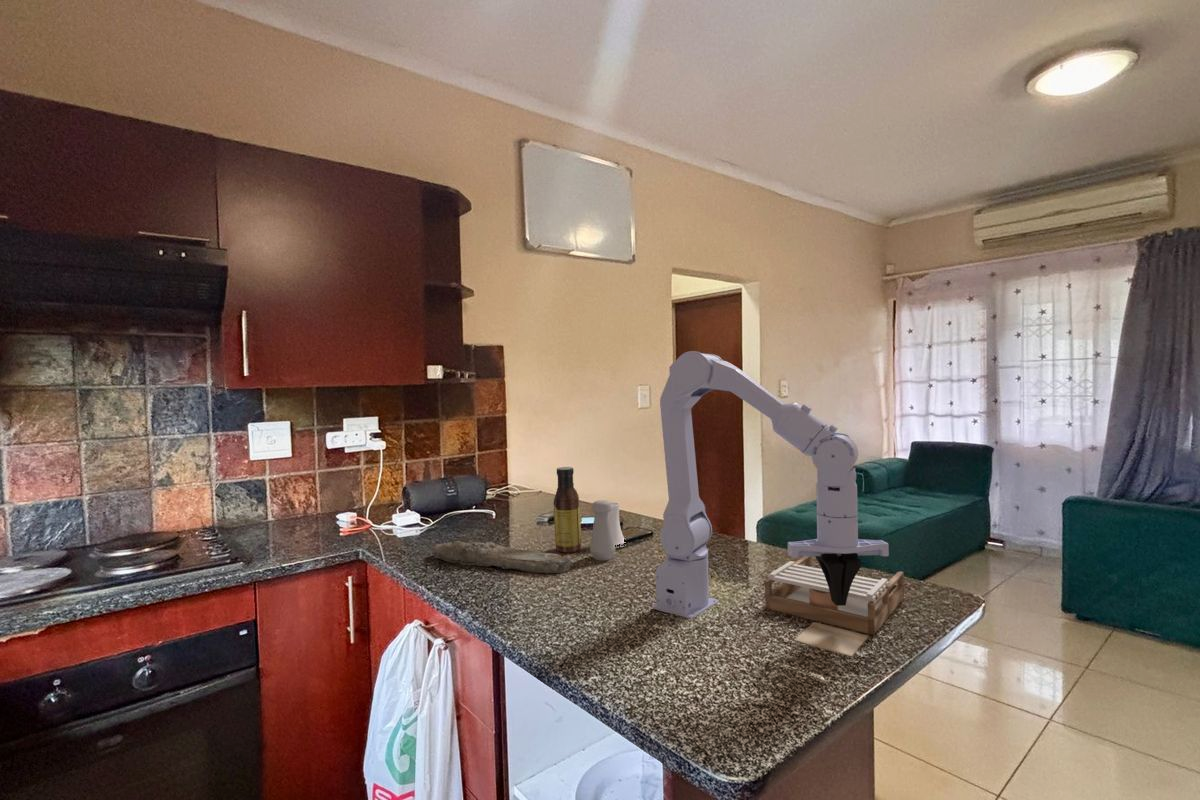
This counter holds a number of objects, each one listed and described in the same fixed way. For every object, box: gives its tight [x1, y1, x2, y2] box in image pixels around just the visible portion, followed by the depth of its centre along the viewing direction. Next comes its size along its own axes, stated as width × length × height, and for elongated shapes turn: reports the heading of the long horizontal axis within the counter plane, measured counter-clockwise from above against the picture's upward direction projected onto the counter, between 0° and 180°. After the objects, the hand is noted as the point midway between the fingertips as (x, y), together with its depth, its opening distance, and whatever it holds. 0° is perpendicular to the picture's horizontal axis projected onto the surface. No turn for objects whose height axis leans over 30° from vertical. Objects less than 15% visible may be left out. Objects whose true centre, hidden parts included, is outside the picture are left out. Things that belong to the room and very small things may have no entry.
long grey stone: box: [432, 540, 571, 574], centre depth 123 cm, size 35×5×10 cm
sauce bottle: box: [553, 466, 582, 554], centre depth 132 cm, size 6×6×20 cm
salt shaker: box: [589, 499, 616, 562], centre depth 125 cm, size 6×6×13 cm
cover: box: [767, 560, 889, 602], centre depth 92 cm, size 9×17×1 cm, turn 49°
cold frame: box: [764, 556, 905, 636], centre depth 95 cm, size 19×17×5 cm
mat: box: [794, 621, 869, 658], centre depth 81 cm, size 8×8×1 cm
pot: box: [809, 588, 838, 610], centre depth 90 cm, size 4×4×4 cm
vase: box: [609, 502, 626, 549], centre depth 136 cm, size 8×8×10 cm
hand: (838, 603), depth 84 cm, fingers closed
